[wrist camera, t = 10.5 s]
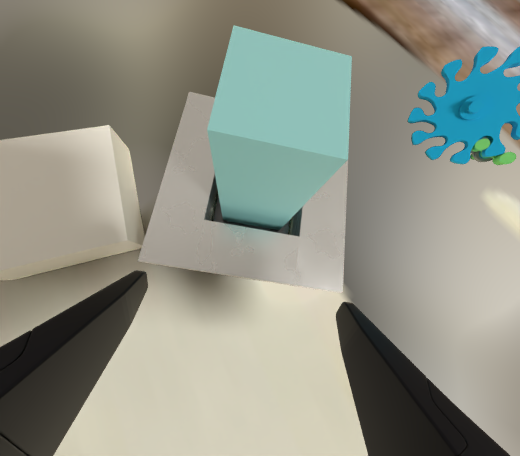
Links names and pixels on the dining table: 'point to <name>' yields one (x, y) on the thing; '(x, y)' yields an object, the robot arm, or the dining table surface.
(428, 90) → the blue splat disc
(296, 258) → the hole plate
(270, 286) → the dining table surface
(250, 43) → the teal square peg
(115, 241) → the white flat square block
